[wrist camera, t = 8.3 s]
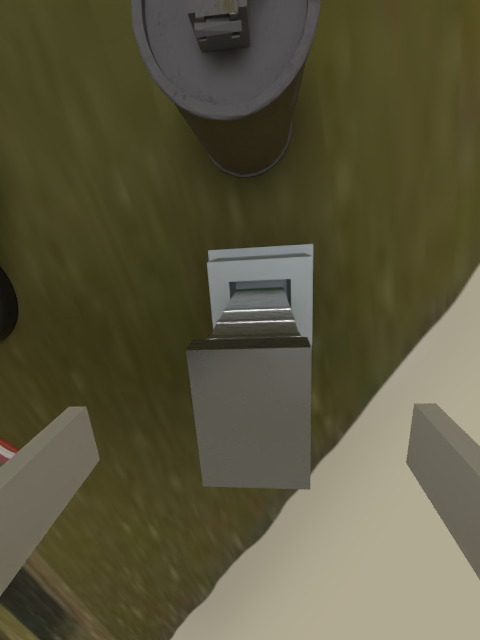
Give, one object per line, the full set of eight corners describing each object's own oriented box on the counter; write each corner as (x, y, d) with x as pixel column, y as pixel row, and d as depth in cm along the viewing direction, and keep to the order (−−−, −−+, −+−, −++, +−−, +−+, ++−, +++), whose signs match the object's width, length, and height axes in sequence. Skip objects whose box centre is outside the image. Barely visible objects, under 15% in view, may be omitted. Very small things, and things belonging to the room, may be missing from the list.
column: (239, 341, 32) (202, 486, 13) (235, 279, 30) (184, 350, 11) (284, 340, 31) (311, 489, 13) (283, 277, 29) (312, 347, 11)
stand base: (217, 344, 39) (205, 372, 31) (209, 250, 36) (192, 254, 28) (311, 341, 38) (323, 370, 30) (312, 243, 34) (326, 246, 26)
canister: (291, 174, 32) (327, 87, 13) (204, 180, 34) (121, 105, 14) (293, 61, 29) (342, -264, 10) (196, 71, 30) (79, -207, 11)
